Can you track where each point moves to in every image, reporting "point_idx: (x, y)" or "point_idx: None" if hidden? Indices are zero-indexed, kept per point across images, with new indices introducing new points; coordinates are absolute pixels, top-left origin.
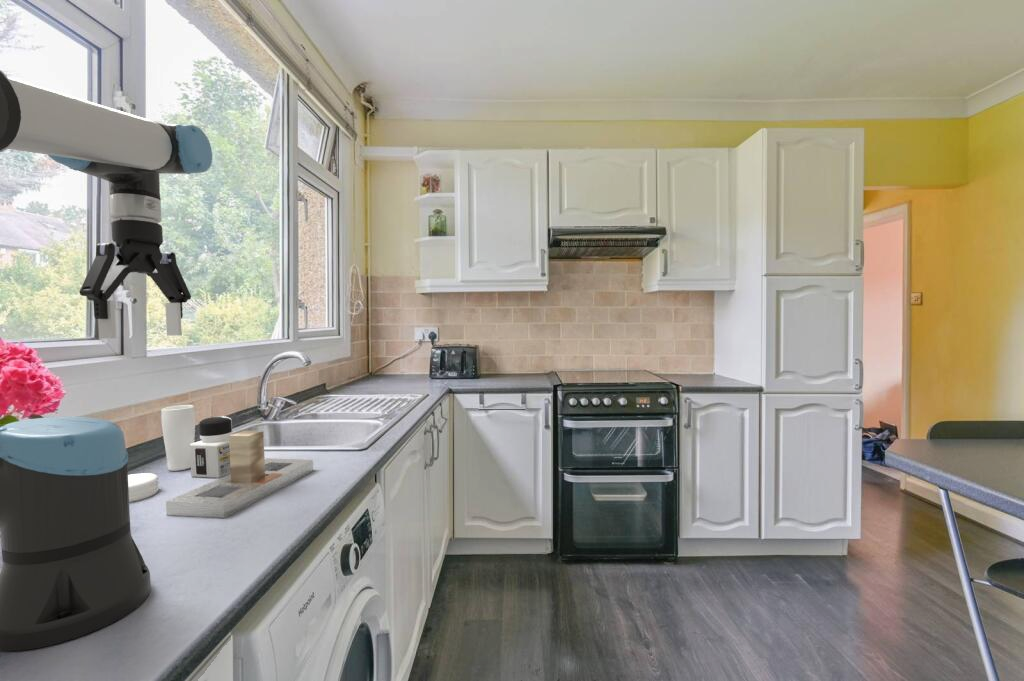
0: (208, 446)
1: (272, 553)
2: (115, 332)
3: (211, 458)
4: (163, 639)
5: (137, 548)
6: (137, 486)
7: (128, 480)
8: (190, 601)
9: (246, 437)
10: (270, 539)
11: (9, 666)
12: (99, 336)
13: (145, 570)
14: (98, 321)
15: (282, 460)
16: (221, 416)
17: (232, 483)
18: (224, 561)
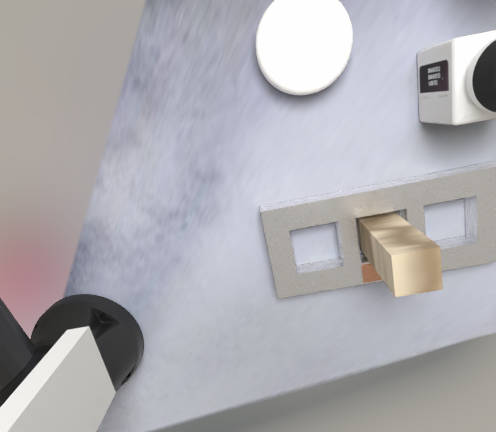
0: (451, 99)
1: (227, 400)
2: (100, 418)
3: (437, 106)
4: (107, 423)
5: (119, 384)
6: (291, 92)
7: (305, 42)
8: (143, 402)
9: (393, 291)
10: (250, 378)
11: None
12: (61, 341)
13: (130, 372)
14: (1, 410)
15: (492, 208)
16: None
17: (353, 235)
18: (198, 375)
